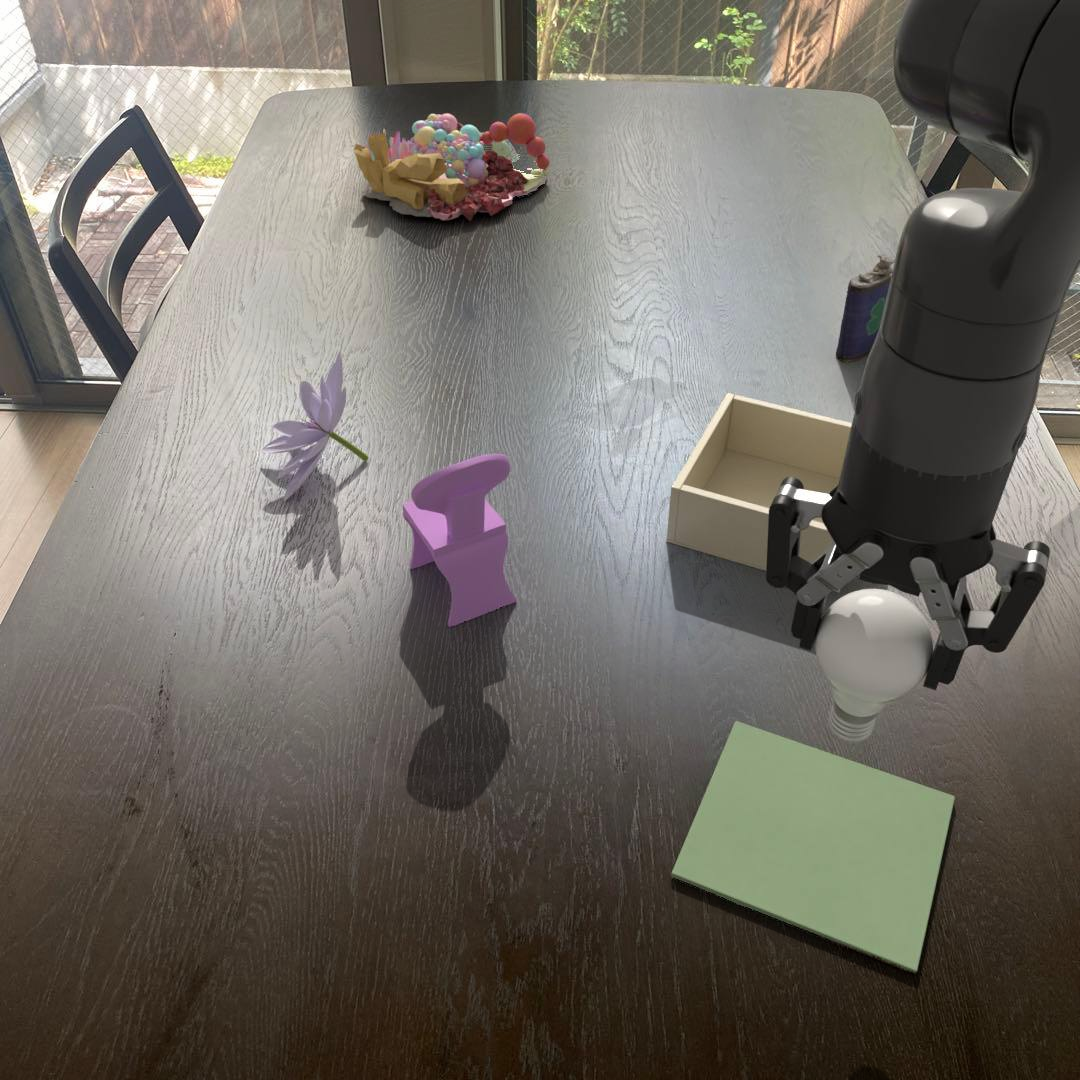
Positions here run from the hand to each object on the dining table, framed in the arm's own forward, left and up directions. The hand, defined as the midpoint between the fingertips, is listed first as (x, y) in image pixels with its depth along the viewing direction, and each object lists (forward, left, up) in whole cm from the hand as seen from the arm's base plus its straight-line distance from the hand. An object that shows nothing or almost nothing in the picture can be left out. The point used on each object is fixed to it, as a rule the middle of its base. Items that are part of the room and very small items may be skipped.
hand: (868, 658), depth 62 cm
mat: (0, 0, -18) cm, 18 cm away
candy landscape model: (+73, -82, -19) cm, 111 cm away
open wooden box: (+12, -32, -18) cm, 39 cm away
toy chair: (+34, -12, -19) cm, 41 cm away
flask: (+11, -64, -19) cm, 67 cm away
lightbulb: (0, 0, -7) cm, 7 cm away
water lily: (+55, -21, -19) cm, 62 cm away
